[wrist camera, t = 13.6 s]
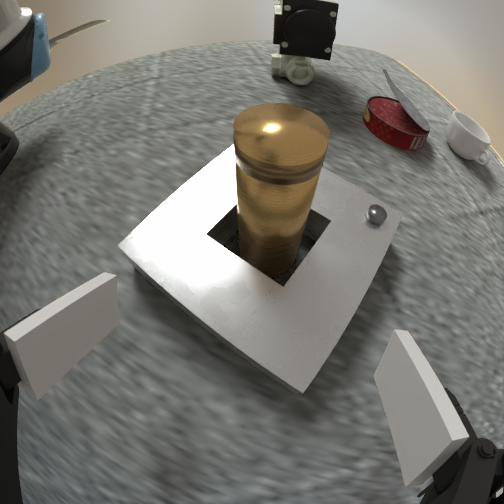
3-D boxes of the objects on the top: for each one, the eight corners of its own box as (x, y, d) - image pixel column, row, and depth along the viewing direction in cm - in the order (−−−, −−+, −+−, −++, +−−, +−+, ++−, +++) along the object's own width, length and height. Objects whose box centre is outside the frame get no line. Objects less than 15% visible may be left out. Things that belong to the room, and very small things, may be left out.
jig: (133, 267, 22) (114, 241, 18) (249, 159, 28) (249, 128, 24) (293, 393, 17) (305, 393, 13) (386, 237, 23) (405, 210, 20)
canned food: (372, 132, 39) (395, 84, 33) (421, 164, 34) (447, 112, 29) (339, 117, 32) (367, 57, 26) (401, 155, 27) (434, 87, 21)
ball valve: (270, 59, 44) (273, -19, 28) (312, 63, 44) (322, -13, 28) (267, 97, 35) (272, -15, 20) (325, 103, 35) (343, -5, 19)
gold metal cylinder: (227, 256, 22) (212, 130, 12) (261, 219, 24) (269, 95, 14) (275, 289, 21) (300, 171, 10) (306, 247, 23) (344, 125, 12)
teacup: (432, 131, 34) (444, 106, 29) (461, 138, 34) (472, 116, 30) (463, 174, 29) (480, 148, 24) (490, 179, 29) (506, 157, 25)
